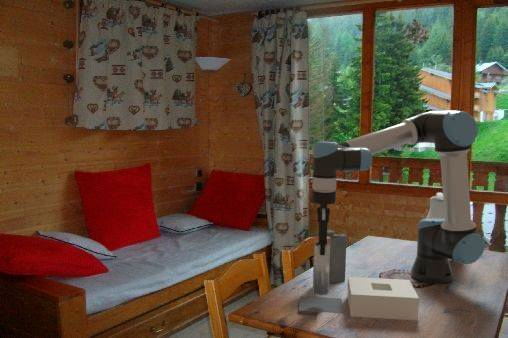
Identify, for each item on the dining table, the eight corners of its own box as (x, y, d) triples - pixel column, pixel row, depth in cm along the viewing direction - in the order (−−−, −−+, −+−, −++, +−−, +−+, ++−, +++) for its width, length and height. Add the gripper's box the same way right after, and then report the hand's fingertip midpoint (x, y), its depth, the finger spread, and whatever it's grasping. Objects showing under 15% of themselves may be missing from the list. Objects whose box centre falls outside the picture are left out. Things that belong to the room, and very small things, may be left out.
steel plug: (328, 289, 158) (330, 235, 156) (328, 295, 153) (330, 239, 151) (313, 288, 159) (314, 235, 157) (313, 294, 154) (314, 239, 152)
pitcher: (462, 265, 201) (466, 200, 198) (420, 261, 206) (423, 197, 203) (455, 250, 224) (459, 191, 221) (417, 247, 229) (420, 189, 226)
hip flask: (317, 289, 173) (318, 235, 170) (309, 286, 176) (310, 233, 173) (346, 280, 182) (348, 228, 180) (338, 277, 186) (340, 226, 183)
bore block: (407, 302, 161) (409, 279, 160) (417, 323, 145) (419, 298, 144) (347, 299, 164) (348, 276, 163) (350, 319, 148) (351, 294, 147)
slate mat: (341, 301, 162) (341, 298, 162) (343, 316, 150) (343, 313, 150) (300, 299, 164) (300, 296, 164) (298, 313, 152) (298, 310, 152)
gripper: (312, 185, 162) (310, 253, 164) (311, 194, 144) (309, 269, 147) (334, 186, 161) (332, 254, 163) (337, 195, 143) (334, 271, 146)
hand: (321, 261), depth 155 cm, fingers closed on steel plug, 5 cm apart
